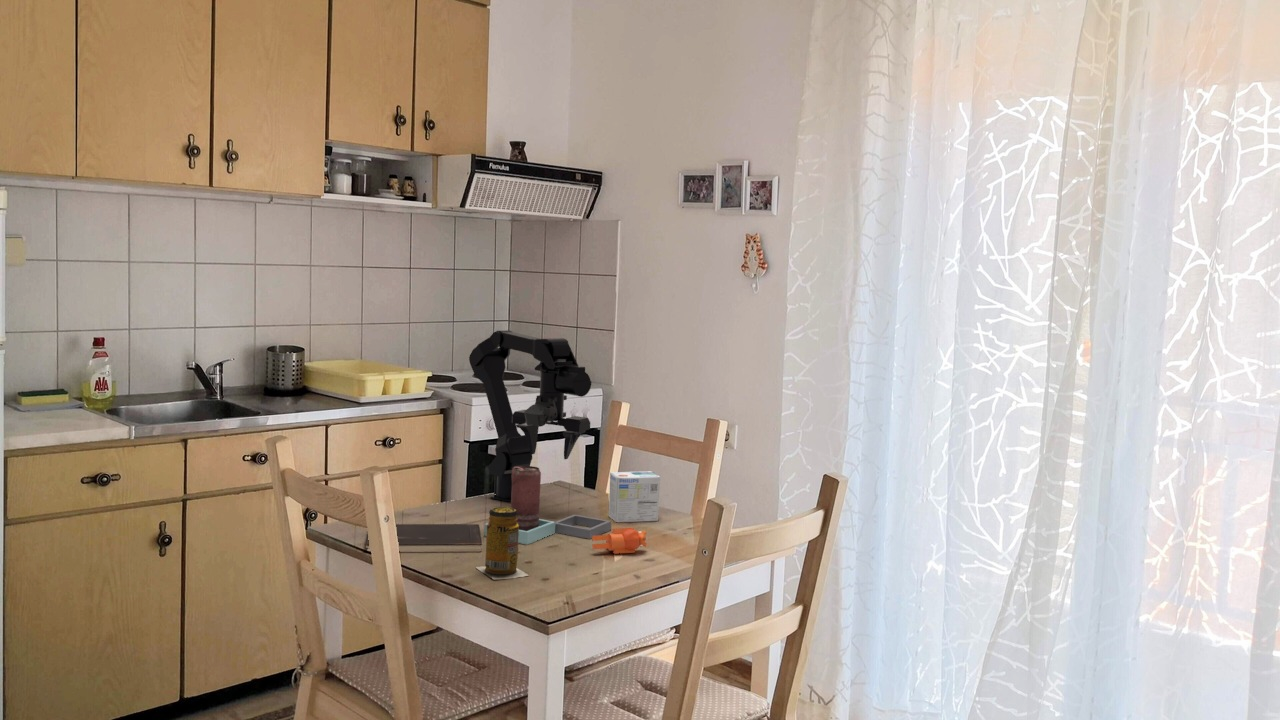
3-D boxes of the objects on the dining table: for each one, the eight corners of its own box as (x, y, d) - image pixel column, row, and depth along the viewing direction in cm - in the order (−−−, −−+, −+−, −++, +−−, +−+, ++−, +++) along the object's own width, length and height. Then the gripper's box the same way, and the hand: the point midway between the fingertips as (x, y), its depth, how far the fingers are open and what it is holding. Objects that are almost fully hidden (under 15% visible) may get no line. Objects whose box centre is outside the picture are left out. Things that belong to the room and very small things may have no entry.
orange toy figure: (596, 529, 207) (651, 526, 212) (585, 531, 214) (638, 528, 219) (597, 554, 206) (653, 551, 211) (586, 555, 213) (640, 552, 218)
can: (511, 526, 225) (513, 464, 224) (540, 528, 225) (542, 466, 224) (506, 534, 219) (509, 469, 218) (536, 535, 219) (538, 471, 218)
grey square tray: (551, 531, 225) (552, 523, 225) (574, 523, 234) (574, 514, 233) (589, 539, 221) (589, 530, 221) (610, 529, 229) (611, 521, 229)
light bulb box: (649, 514, 245) (652, 470, 244) (659, 521, 239) (661, 476, 238) (607, 515, 242) (609, 471, 241) (615, 523, 236) (617, 477, 235)
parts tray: (484, 536, 219) (484, 524, 219) (513, 525, 229) (513, 514, 228) (527, 544, 214) (527, 532, 214) (555, 533, 224) (555, 521, 224)
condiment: (510, 564, 200) (512, 504, 199) (529, 576, 193) (531, 514, 192) (475, 568, 196) (477, 507, 195) (493, 581, 189) (495, 517, 188)
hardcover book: (481, 554, 207) (482, 543, 207) (364, 555, 203) (364, 544, 203) (478, 533, 223) (478, 523, 223) (369, 533, 218) (369, 523, 218)
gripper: (499, 390, 238) (497, 456, 240) (568, 398, 230) (565, 467, 231) (526, 386, 248) (523, 449, 250) (592, 394, 240) (589, 459, 241)
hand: (549, 456), depth 243 cm, fingers open, 9 cm apart
